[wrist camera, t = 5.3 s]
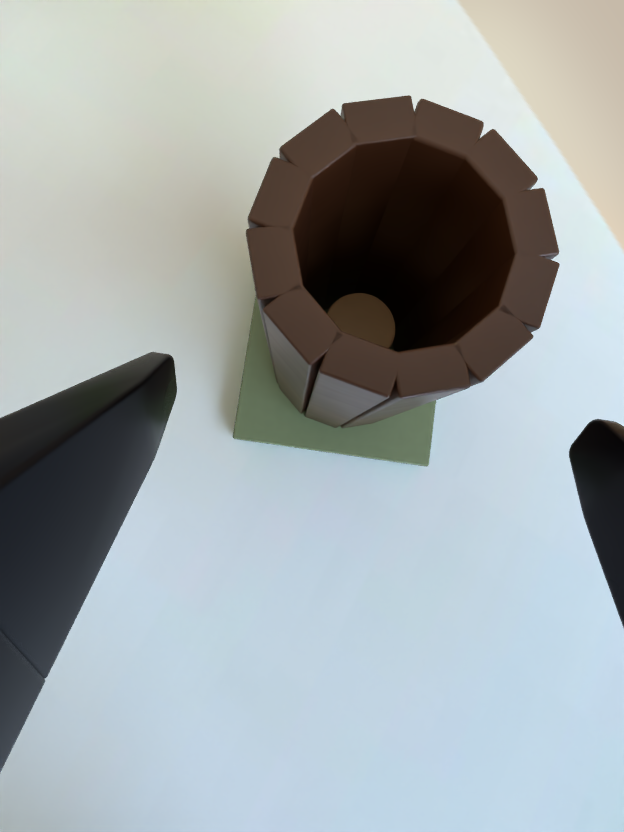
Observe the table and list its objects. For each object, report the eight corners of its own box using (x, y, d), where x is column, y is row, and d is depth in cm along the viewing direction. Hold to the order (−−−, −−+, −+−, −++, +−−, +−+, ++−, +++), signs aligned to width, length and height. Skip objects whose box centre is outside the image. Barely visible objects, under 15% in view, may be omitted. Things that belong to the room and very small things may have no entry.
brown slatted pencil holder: (336, 456, 18) (390, 462, 8) (243, 345, 18) (183, 216, 8) (443, 365, 19) (618, 264, 9) (352, 259, 19) (419, 42, 9)
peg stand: (423, 466, 19) (469, 470, 14) (234, 438, 19) (213, 433, 14) (444, 285, 20) (494, 229, 15) (264, 256, 19) (254, 189, 14)
